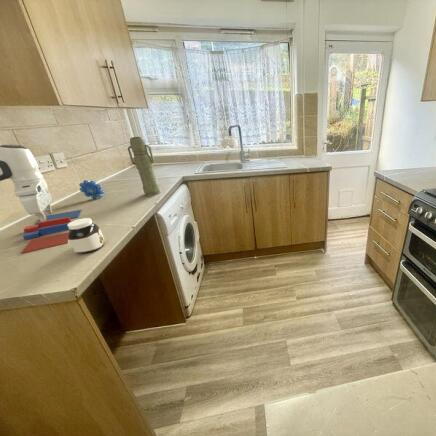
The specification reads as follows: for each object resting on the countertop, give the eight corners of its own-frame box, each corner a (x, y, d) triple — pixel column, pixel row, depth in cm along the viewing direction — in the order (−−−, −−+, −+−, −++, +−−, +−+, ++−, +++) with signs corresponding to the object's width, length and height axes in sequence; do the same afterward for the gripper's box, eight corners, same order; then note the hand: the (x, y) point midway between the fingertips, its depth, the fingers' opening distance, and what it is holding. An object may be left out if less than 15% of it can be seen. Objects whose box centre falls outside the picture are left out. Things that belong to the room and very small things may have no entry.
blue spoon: (24, 239, 102) (20, 233, 100) (27, 236, 104) (23, 230, 103) (72, 230, 109) (70, 224, 108) (74, 227, 112) (71, 221, 111)
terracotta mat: (21, 253, 91) (20, 252, 91) (31, 240, 100) (30, 239, 100) (75, 242, 99) (75, 240, 99) (80, 231, 108) (79, 229, 108)
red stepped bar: (24, 232, 108) (21, 226, 106) (27, 229, 110) (24, 223, 109) (70, 224, 115) (68, 218, 114) (72, 221, 118) (69, 216, 117)
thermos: (163, 195, 152) (146, 136, 138) (142, 198, 148) (122, 138, 134) (164, 191, 160) (148, 135, 145) (143, 194, 156) (125, 137, 141)
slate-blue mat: (35, 225, 115) (35, 224, 114) (42, 217, 124) (42, 216, 124) (78, 217, 122) (78, 216, 122) (81, 210, 132) (81, 209, 131)
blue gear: (81, 202, 145) (72, 183, 140) (86, 198, 151) (77, 180, 146) (103, 199, 148) (96, 180, 143) (107, 196, 154) (100, 177, 149)
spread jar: (96, 254, 89) (83, 226, 84) (61, 259, 87) (46, 231, 82) (111, 239, 100) (100, 213, 95) (80, 243, 98) (67, 217, 93)
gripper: (29, 181, 105) (43, 211, 111) (12, 193, 89) (29, 227, 95) (48, 179, 108) (61, 208, 114) (35, 190, 92) (51, 223, 98)
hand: (47, 217), depth 104 cm, fingers open, 8 cm apart
